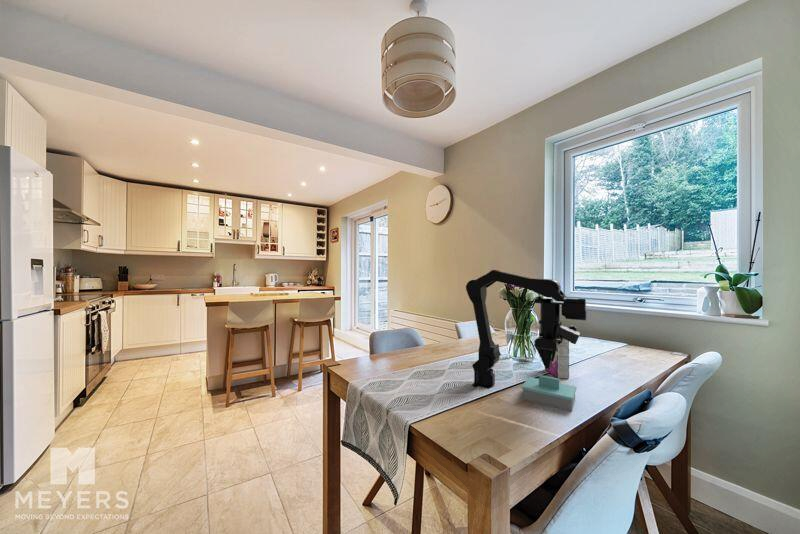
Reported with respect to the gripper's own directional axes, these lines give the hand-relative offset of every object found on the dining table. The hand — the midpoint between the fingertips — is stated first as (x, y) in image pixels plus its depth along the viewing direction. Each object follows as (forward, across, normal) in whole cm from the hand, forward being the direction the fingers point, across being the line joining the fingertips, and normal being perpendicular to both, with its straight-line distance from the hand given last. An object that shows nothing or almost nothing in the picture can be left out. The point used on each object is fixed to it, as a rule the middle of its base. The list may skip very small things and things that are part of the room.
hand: (549, 364), depth 98 cm
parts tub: (+12, 0, 0) cm, 12 cm away
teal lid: (+8, 0, 0) cm, 8 cm away
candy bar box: (+12, +30, +2) cm, 32 cm away
